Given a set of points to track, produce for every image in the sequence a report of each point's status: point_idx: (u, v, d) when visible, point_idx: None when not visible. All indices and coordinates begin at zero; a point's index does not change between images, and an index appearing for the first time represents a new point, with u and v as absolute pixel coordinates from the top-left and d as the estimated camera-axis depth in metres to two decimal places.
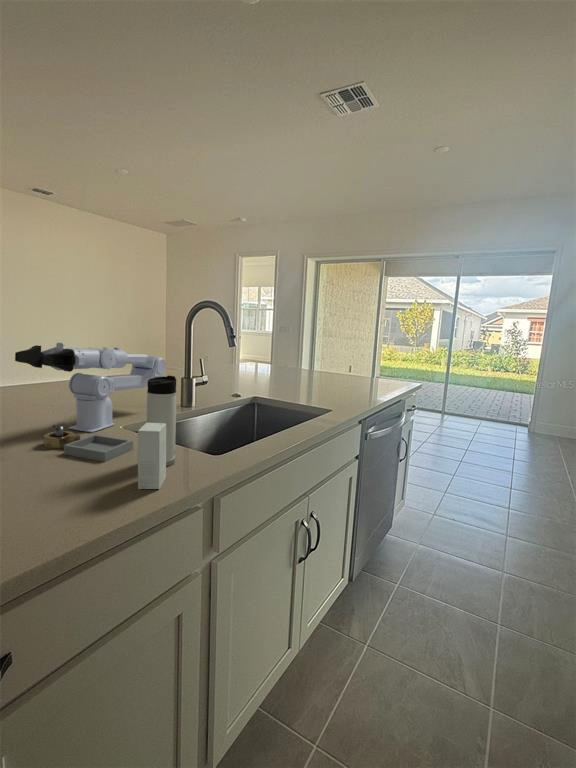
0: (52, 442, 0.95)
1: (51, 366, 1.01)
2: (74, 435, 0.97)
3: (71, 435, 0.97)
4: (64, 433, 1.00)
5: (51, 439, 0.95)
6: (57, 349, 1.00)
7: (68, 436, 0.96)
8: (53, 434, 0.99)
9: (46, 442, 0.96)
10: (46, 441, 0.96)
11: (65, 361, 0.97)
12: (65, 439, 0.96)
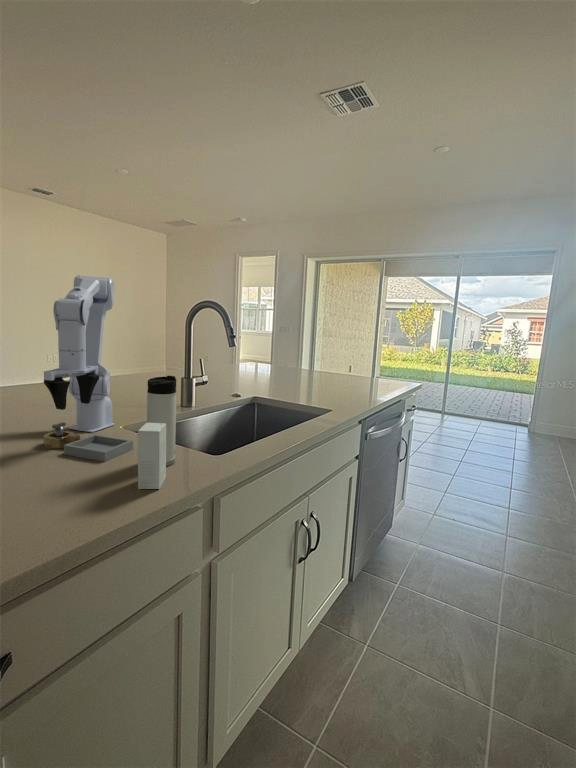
0: (52, 442, 0.95)
1: None
2: (74, 435, 0.97)
3: (71, 435, 0.97)
4: (64, 433, 1.00)
5: (51, 439, 0.95)
6: None
7: (68, 436, 0.96)
8: (53, 434, 0.99)
9: (46, 442, 0.96)
10: (46, 441, 0.96)
11: None
12: (65, 439, 0.96)
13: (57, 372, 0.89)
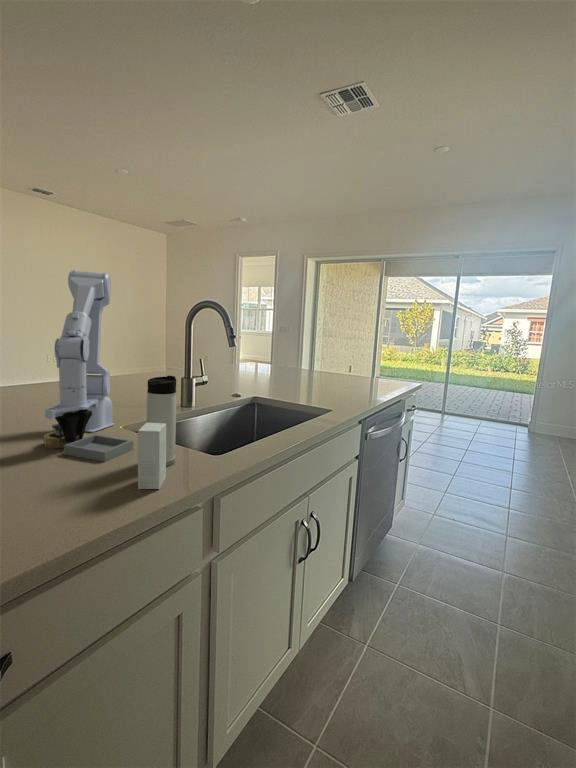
0: (52, 442, 0.95)
1: (58, 408, 0.94)
2: None
3: None
4: None
5: (51, 439, 0.95)
6: None
7: None
8: (53, 434, 0.99)
9: (46, 442, 0.96)
10: (46, 441, 0.96)
11: None
12: None
13: (58, 410, 0.90)
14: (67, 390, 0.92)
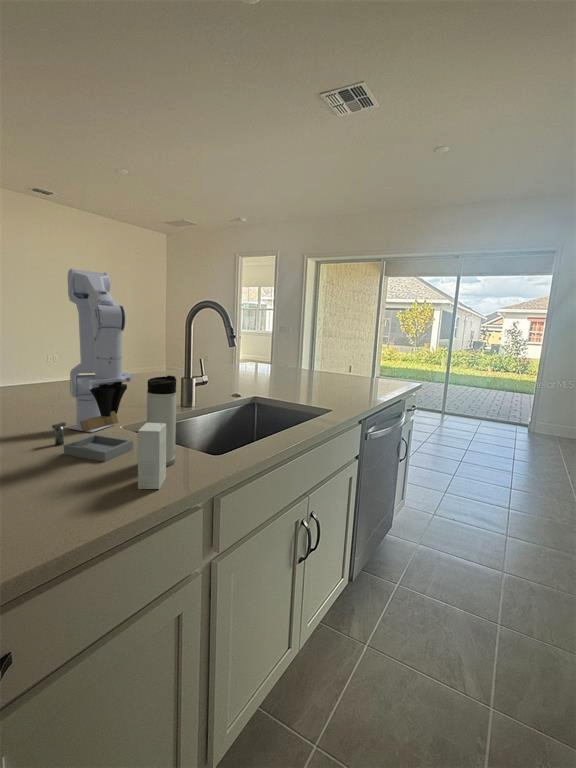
0: (89, 423, 0.91)
1: None
2: None
3: None
4: (100, 417, 0.97)
5: (87, 421, 0.91)
6: None
7: None
8: None
9: (84, 425, 0.92)
10: (83, 424, 0.92)
11: None
12: (102, 418, 0.93)
13: (95, 381, 0.86)
14: (103, 361, 0.89)
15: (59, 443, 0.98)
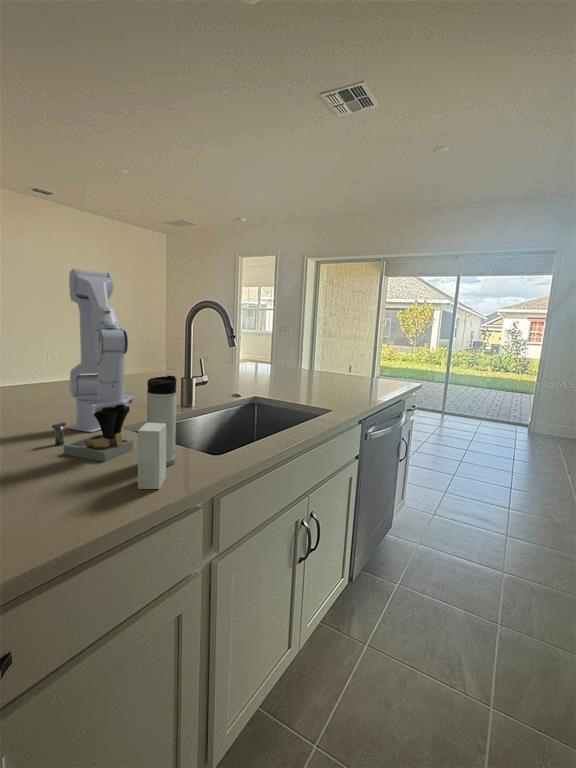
0: (94, 444, 0.92)
1: (96, 403, 0.91)
2: (115, 433, 0.93)
3: None
4: None
5: (92, 441, 0.92)
6: None
7: None
8: (93, 438, 0.96)
9: (88, 445, 0.92)
10: (88, 444, 0.92)
11: None
12: (106, 439, 0.93)
13: (98, 405, 0.87)
14: (106, 384, 0.89)
15: (59, 443, 0.98)
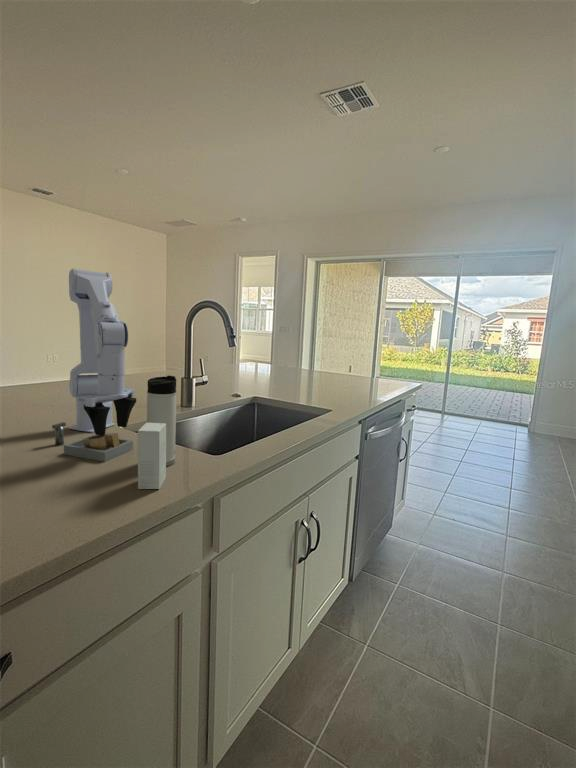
0: (91, 444, 0.92)
1: (96, 396, 0.91)
2: (112, 434, 0.93)
3: (109, 434, 0.93)
4: (103, 435, 0.97)
5: (89, 441, 0.92)
6: None
7: (106, 435, 0.93)
8: (92, 437, 0.96)
9: (85, 445, 0.92)
10: (85, 444, 0.92)
11: None
12: (103, 439, 0.93)
13: (98, 398, 0.87)
14: (106, 377, 0.89)
15: (59, 443, 0.98)
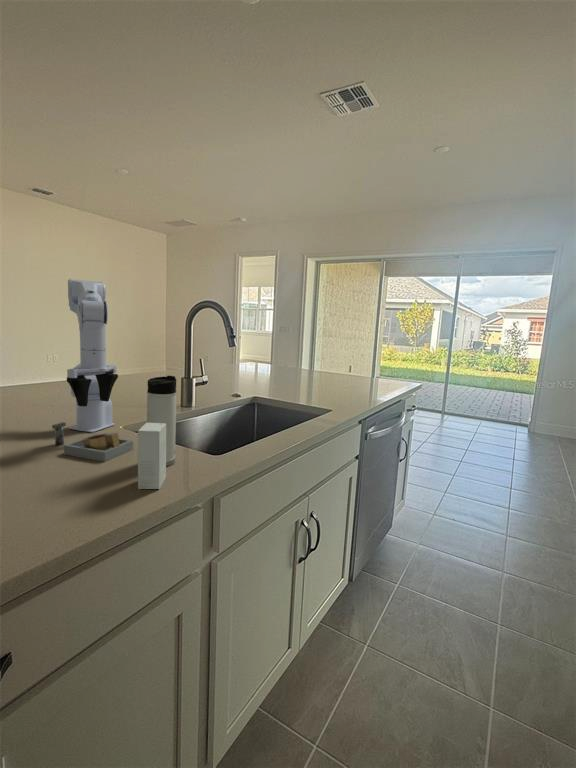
0: (91, 444, 0.92)
1: None
2: (112, 434, 0.93)
3: (109, 434, 0.93)
4: (103, 435, 0.97)
5: (89, 441, 0.92)
6: None
7: (106, 435, 0.93)
8: (92, 437, 0.96)
9: (85, 445, 0.92)
10: (85, 444, 0.92)
11: None
12: (103, 439, 0.93)
13: (80, 370, 0.93)
14: (88, 352, 0.95)
15: (59, 443, 0.98)
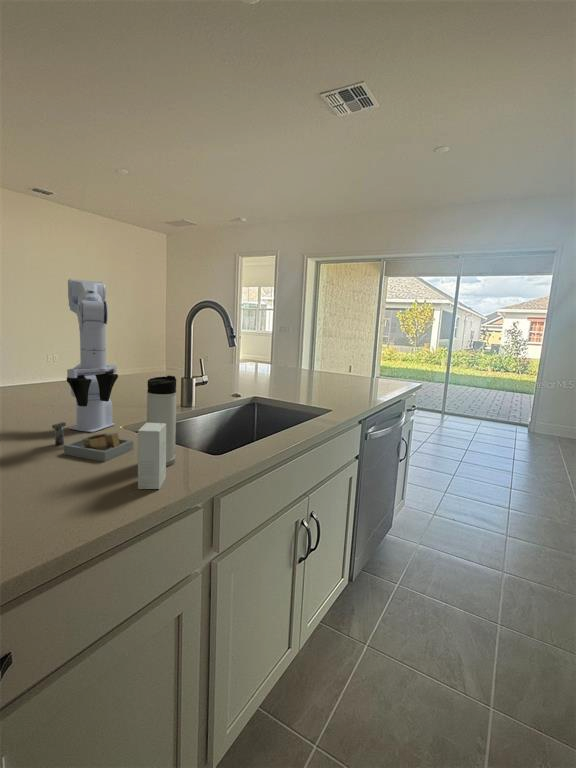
0: (91, 444, 0.92)
1: None
2: (112, 434, 0.93)
3: (109, 434, 0.93)
4: (103, 435, 0.97)
5: (89, 441, 0.92)
6: None
7: (106, 435, 0.93)
8: (92, 437, 0.96)
9: (85, 445, 0.92)
10: (85, 444, 0.92)
11: None
12: (103, 439, 0.93)
13: (80, 370, 0.93)
14: (88, 352, 0.95)
15: (59, 443, 0.98)
